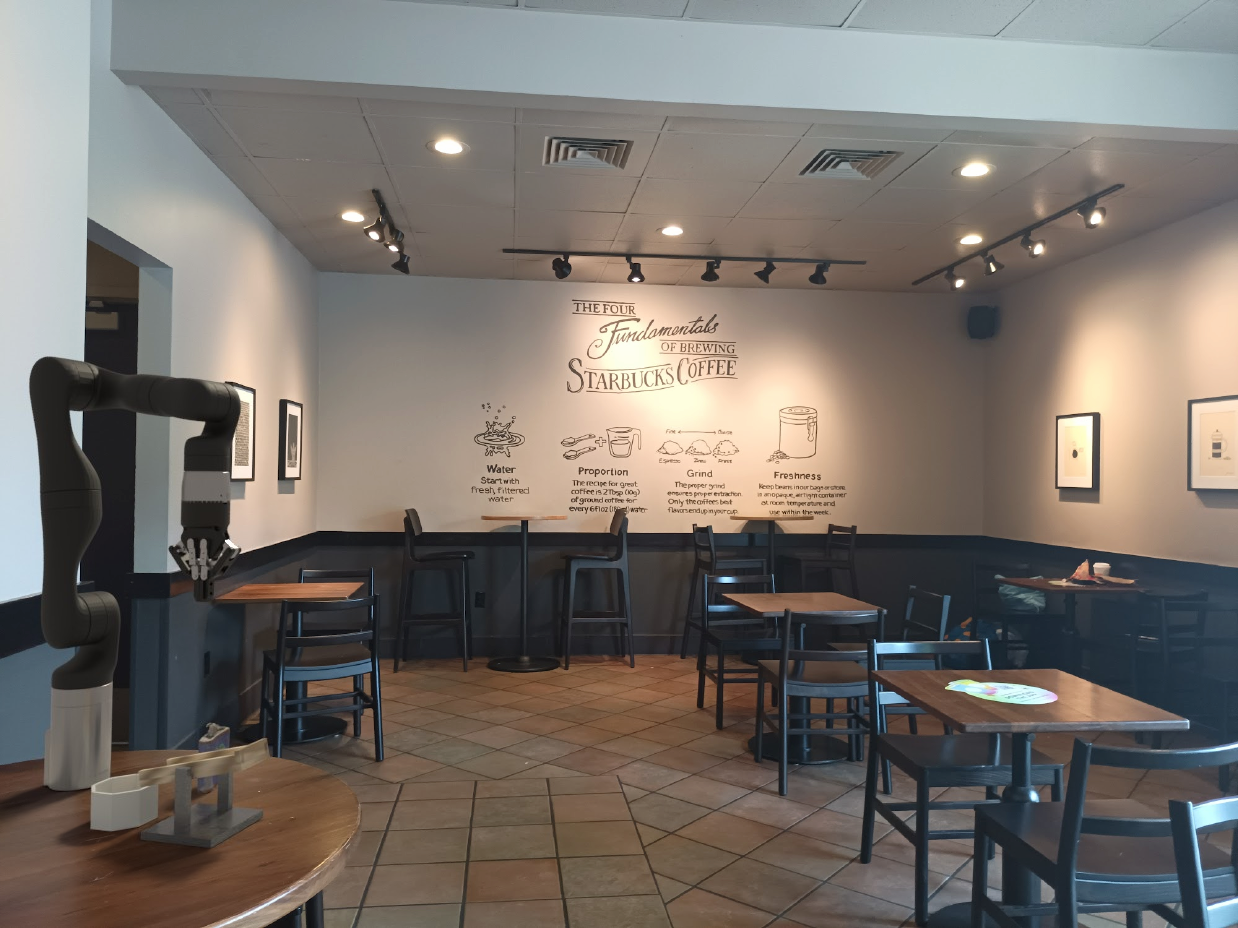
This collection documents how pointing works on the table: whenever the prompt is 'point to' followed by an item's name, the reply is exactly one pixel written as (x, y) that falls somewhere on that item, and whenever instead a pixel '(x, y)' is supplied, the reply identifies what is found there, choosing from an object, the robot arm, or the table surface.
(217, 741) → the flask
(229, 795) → the lever stand
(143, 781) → the lever
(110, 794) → the cup
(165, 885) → the table surface
